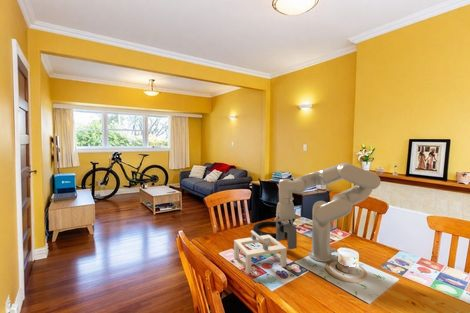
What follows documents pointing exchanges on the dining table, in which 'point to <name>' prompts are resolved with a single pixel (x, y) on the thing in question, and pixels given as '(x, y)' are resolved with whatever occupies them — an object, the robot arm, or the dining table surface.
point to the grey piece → (291, 234)
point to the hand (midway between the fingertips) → (285, 230)
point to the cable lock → (262, 224)
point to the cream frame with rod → (260, 251)
